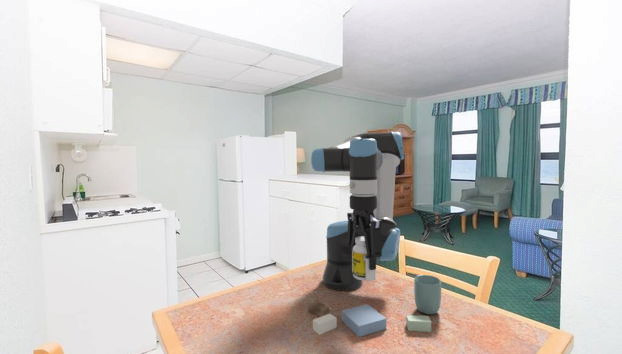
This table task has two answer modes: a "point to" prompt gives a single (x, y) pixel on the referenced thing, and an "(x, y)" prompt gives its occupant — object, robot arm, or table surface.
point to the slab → (363, 320)
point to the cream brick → (324, 323)
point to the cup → (427, 293)
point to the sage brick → (418, 323)
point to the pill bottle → (359, 258)
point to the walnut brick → (318, 308)
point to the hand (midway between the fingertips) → (363, 275)
